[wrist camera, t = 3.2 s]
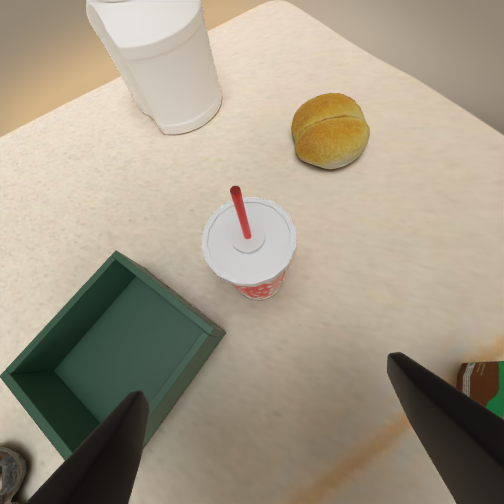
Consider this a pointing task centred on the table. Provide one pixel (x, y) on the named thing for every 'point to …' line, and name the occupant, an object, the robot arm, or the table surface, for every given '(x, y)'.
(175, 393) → the square green tray
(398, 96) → the table surface
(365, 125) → the bread roll
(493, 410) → the food container
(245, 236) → the beverage cup
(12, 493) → the corroded twin loop
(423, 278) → the table surface
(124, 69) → the jar
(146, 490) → the table surface
